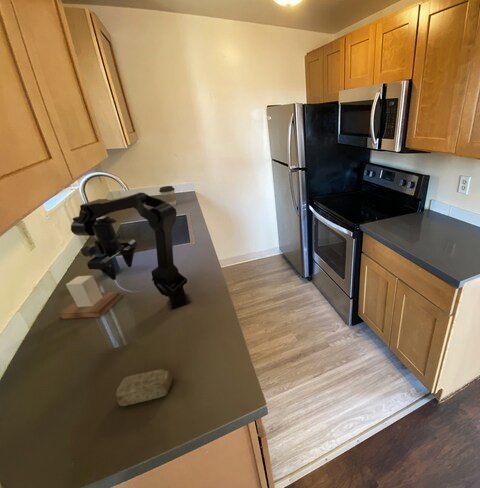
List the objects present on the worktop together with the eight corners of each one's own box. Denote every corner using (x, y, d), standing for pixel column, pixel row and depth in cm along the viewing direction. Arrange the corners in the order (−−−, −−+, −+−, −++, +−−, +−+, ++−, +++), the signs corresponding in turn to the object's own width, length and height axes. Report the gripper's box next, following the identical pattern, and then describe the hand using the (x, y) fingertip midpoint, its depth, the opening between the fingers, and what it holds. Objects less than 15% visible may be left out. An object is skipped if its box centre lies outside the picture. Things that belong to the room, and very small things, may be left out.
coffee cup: (181, 204, 229) (176, 186, 222) (166, 208, 221) (161, 189, 215) (175, 202, 236) (170, 184, 229) (161, 205, 229) (156, 187, 222)
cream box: (102, 297, 107) (92, 275, 103) (92, 306, 102) (81, 283, 98) (88, 298, 107) (77, 276, 103) (77, 307, 102) (65, 284, 98)
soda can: (116, 268, 134) (107, 245, 128) (124, 271, 130) (114, 248, 125) (100, 274, 128) (90, 252, 123) (108, 278, 125) (97, 255, 120)
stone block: (169, 396, 70) (163, 383, 68) (118, 410, 68) (110, 396, 65) (174, 377, 75) (168, 365, 73) (127, 389, 73) (120, 376, 70)
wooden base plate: (122, 296, 112) (120, 291, 111) (101, 316, 100) (98, 311, 99) (86, 298, 111) (83, 293, 110) (61, 319, 100) (57, 313, 99)
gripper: (102, 226, 106) (117, 262, 113) (61, 248, 89) (82, 288, 96) (131, 225, 106) (144, 260, 113) (95, 246, 89) (113, 286, 96)
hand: (122, 273), depth 105 cm, fingers open, 9 cm apart
